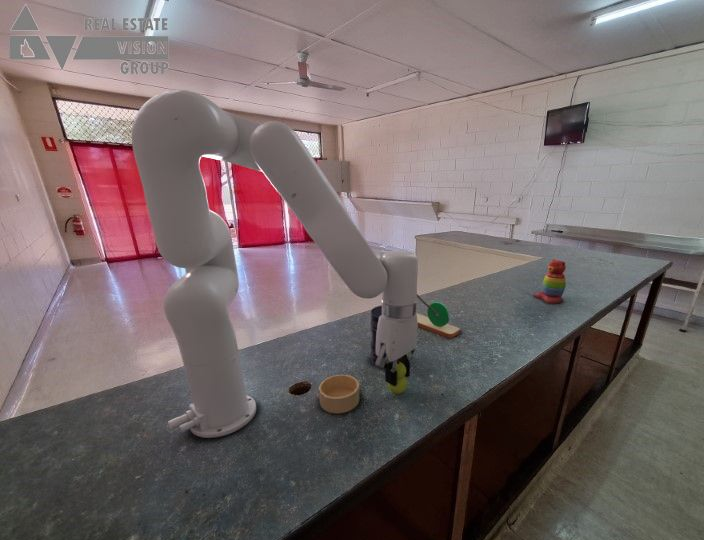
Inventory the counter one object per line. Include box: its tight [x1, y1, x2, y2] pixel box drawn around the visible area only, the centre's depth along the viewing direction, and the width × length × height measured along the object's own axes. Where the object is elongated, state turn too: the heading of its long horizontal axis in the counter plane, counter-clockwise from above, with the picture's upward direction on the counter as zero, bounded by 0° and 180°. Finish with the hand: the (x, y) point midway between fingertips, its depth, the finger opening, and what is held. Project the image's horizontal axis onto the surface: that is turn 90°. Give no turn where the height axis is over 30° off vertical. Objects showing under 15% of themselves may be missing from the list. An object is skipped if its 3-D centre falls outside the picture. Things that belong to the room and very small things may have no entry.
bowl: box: [318, 374, 360, 414], centre depth 73 cm, size 9×9×4 cm
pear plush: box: [387, 360, 408, 395], centre depth 75 cm, size 5×5×9 cm
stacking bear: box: [534, 258, 567, 304], centre depth 140 cm, size 11×10×18 cm
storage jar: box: [370, 305, 399, 369], centre depth 88 cm, size 10×10×15 cm
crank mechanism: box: [416, 293, 461, 339], centre depth 111 cm, size 25×7×19 cm, turn 49°
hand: (397, 378), depth 75 cm, fingers closed on pear plush, 4 cm apart
